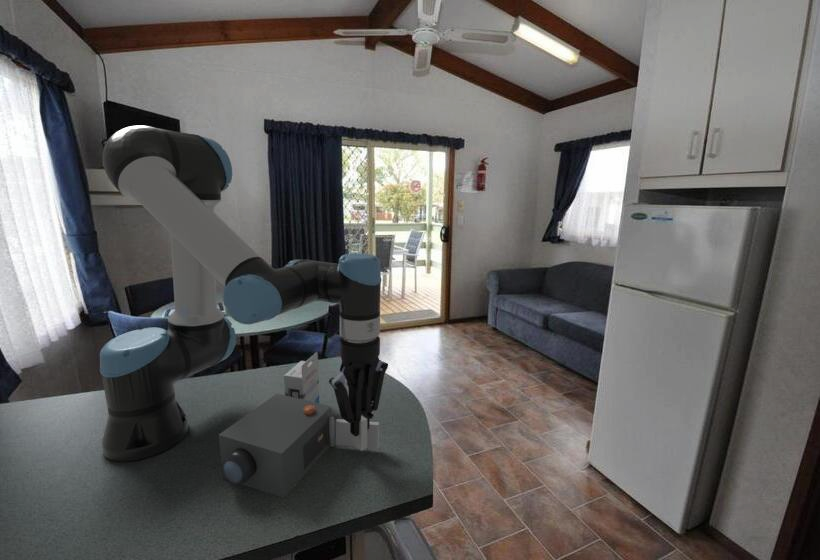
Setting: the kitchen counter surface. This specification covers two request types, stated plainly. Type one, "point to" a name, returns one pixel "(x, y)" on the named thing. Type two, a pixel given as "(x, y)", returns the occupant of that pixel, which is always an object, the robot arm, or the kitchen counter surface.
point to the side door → (346, 437)
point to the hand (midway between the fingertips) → (360, 446)
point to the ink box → (303, 380)
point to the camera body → (276, 444)
